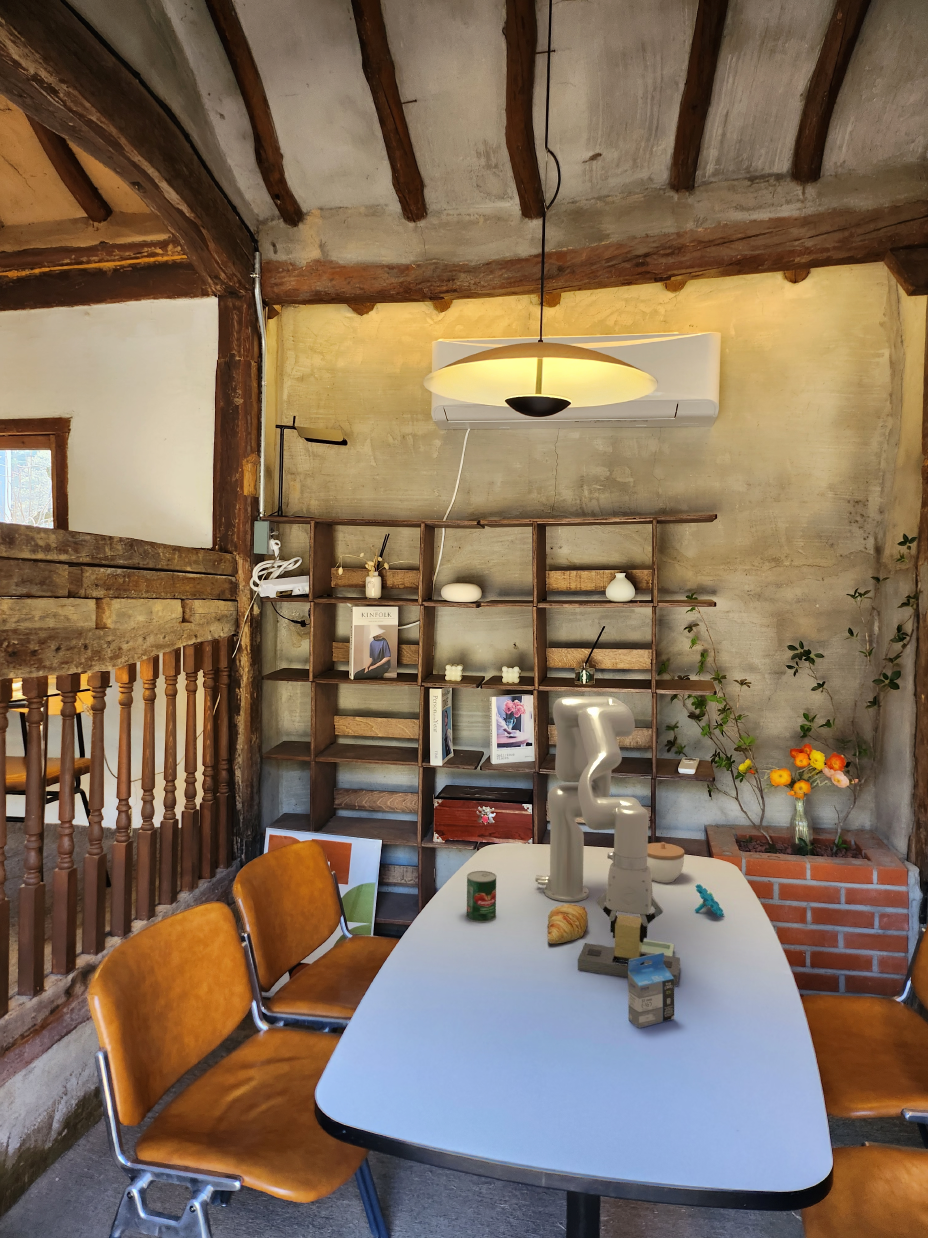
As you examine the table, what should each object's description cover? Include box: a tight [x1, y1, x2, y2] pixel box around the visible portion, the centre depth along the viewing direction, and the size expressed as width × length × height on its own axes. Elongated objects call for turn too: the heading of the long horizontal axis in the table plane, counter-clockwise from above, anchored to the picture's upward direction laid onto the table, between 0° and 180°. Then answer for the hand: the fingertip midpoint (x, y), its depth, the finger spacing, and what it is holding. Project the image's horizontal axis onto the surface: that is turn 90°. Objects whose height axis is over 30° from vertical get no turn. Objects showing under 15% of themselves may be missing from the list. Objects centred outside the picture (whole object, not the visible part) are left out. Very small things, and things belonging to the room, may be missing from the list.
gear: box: [694, 883, 725, 918], centre depth 213 cm, size 11×6×10 cm
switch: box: [577, 942, 681, 987], centre depth 180 cm, size 22×9×3 cm, turn 71°
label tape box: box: [627, 953, 675, 1029], centre depth 158 cm, size 9×4×12 cm, turn 114°
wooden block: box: [614, 913, 642, 959], centre depth 180 cm, size 6×6×8 cm
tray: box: [641, 939, 675, 957], centre depth 188 cm, size 12×8×2 cm, turn 71°
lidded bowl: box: [647, 841, 685, 884], centre depth 239 cm, size 13×13×11 cm
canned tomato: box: [466, 870, 497, 924], centre depth 209 cm, size 8×8×11 cm
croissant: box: [546, 903, 588, 945], centre depth 200 cm, size 21×10×8 cm, turn 151°
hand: (628, 937), depth 181 cm, fingers closed on wooden block, 5 cm apart
